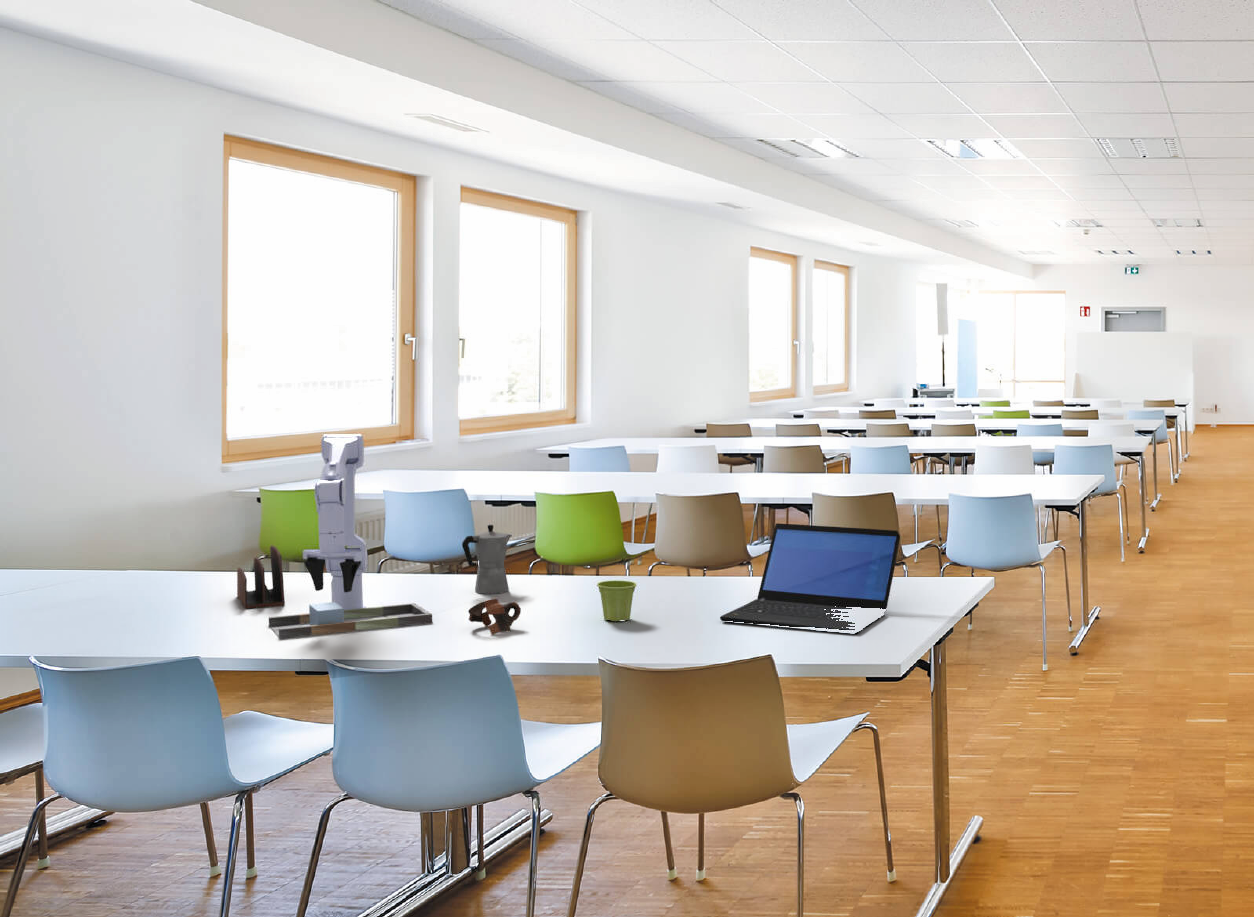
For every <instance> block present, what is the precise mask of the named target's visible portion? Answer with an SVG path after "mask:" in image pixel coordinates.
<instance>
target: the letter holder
mask: <svg viewBox="0 0 1254 917" xmlns="http://www.w3.org/2000/svg"><path fill="white" fill-rule="evenodd" d="M269 552H270V566H271V567H270V568H271V579H272V580H271V581H272V588H270V589H269V588H268V587H267V586H268V585H266V580H265V574H266V573H265V566H264V564H263V562H262V561H261V559H260V558H259V557H257V556H255V557H253V570H254V573H253V574H254V588H255V589H253V590H248V589H247V584H248V582H247V581H248V580H247V576H246V574H245V572H244V570H243V568H241V567H237V570H236V571H237V572H236V574H237V576H236V578H237V579H236V583H237V584H236V586H237V587H236V588H237V589H236V590H237V593H236V596H237V597H238V600H239V601H240V603H241V605H242V607H243V609H245V610H250V609H251V610H252V609H263V608H265V609H266V608H271V607H272V608H274V607H284V606H285V605H286V602H285V588H284V587H285V586H284V573H283V572H284V571H283V564H282V560H283V559H282V554H281V553H280V551H279V549H278V547H276V546H275V545H272V544H271V545H270V547H269Z"/></svg>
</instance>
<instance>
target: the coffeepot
mask: <svg viewBox="0 0 1254 917" xmlns="http://www.w3.org/2000/svg"><path fill="white" fill-rule="evenodd" d="M487 530H488V531H485V532H482V533H478V534H476V535H466V537H465V538H464V540H463V541H462V544H461V545H462V549H463V552H464V555H465V558H466V560H467V564H468V566H469V567H476V566H477V562H473V557H472V554H471V549H470V546H469V544H470V543H472V544H474V546H475V547H474V548H475V552H476V557H477V561H478V568H477V573H476V580H475V587H474V588H475V589H474V590H475V592H476V593H477V594H482V595H496V594H503V593H507V592H508V591H510V588H509V584H508V578H507V572H506V568H505V560H506V554H507V548H508V542H509V541H510V538H512V534H509V533H503V532H497V531H494V525H493V524H489V525H487Z"/></svg>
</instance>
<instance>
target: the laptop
mask: <svg viewBox="0 0 1254 917" xmlns="http://www.w3.org/2000/svg"><path fill="white" fill-rule="evenodd" d="M900 540H901V535H900V533H899V531H898V530H892V529H879V528H864V527H863V528H861V527H845V526H843V527H842V526H831V525H829V526H827V525H826V526H825V525H813V524H811V525H810V524H796V523H794V524H793V523H775V525H774V529H773V533H772V537H771V541H770V545H769V548H768V552H767V557H766V562H765V565H764V569H763V573H762V578H761V582H760V586H759V590H758V594H757V597H756V598H757V599H754V600H752V601H750V602H748V603H746V604H744V605H741V606H740V607H737V608H735V609H733V610H731V611H729V612H727V613H724V614H722V615H720V616H719V619H720V621H722V622H723V621H733V622H744V623H753V624H770V625H779V626H789V627H815V628H826V629H827V628H828V629H839V630H855V629H849V628H846V627H855V626H850V625H848V624H855V623H852V622H848V621H847V622H846V621H839V619H840V618H833V619H832V618H831V617H836V616H838V617H840V616H841V615H835V616H833V615H834V614H831V613H841V611H838V610H835V612H833V611H834V610H833V611H831V609H852V608H846V607H861V608H880V609H881V608H882V609H886V608H887V609H888V603H889V599H890V594H891V588H892V584H893V579H894V578H893V577H894V572H895V567H896V564H897V558H898V552H899V546H900ZM835 606H836V607H835ZM824 609H826V610H824ZM826 613H830V614H827V615H826ZM842 613H848V612H842ZM843 617H849V616H843ZM836 620H838V621H836ZM841 620H843V619H841ZM842 627H843V628H842Z"/></svg>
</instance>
